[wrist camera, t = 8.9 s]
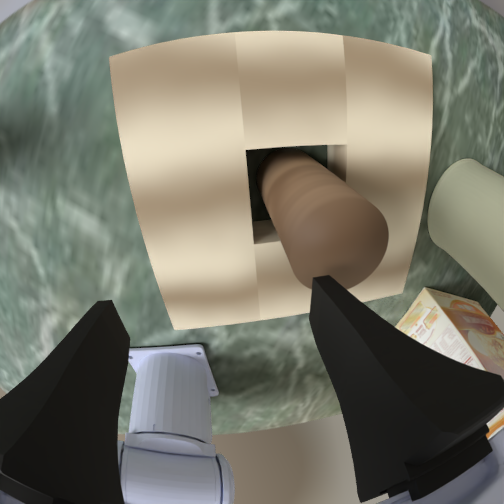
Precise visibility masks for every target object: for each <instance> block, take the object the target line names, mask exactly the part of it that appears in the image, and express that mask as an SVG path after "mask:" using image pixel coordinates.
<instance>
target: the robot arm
mask: <svg viewBox="0 0 504 504" xmlns="http://www.w3.org/2000/svg"><path fill="white" fill-rule="evenodd" d="M309 321H310V324H311V328H312V332H313V335H314V339H315V342H316V345H317V348H318V350H319V352H320V355H321V357H322V360H323V362H324V365H325V367H326V369H327V372H328V374H329V377H330V379H331V382H332V384H333V386H334V389H335V391H336V394H337V397H338V400H339V403H340V407H341V410H342V414H343V418H344V421H345V426H346V430H347V434H348V438H349V442H350V448H351V453H352V458H353V463H354V470H355V477H356V483H357V493H358V497H359V500H360V502H361V503H362V502H365V501H368V500H370V499H373V498H376V497H378V496H381V495H383V494H386V493H388V496H389V499H386V500H384V501H382V502H379V503H376V504H504V427H503V428H502V429H501V430H500V431H498V432H497V433H496V434H495V435H494V436H492V437H491V438H490V439H489V440H488V439H487V437H486V434H487V433H489V428H488V426H487V423H488V422H489V421H490V420H491V419H492V418H494V417H495V416H496V415H497V414H498V413H499V412H500V411H501V410H502V409H503V408H504V380H503V378H502V376H501V375H498V374H495V373H491V372H488V371H484V370H481V369H477V368H474V367H471V366H469V365H466V364H464V363H461V362H458V361H456V360H454V359H451V358H449V357H447V356H445V355H443V354H441V353H439V352H437V351H435V350H433V349H431V348H429V347H427V346H425V345H423V344H421V343H420V342H418V341H416V340H415V339H413V338H411V337H410V336H408V335H406V334H405V333H403V332H402V331H400V330H398V329H397V328H395V327H394V326H393V325H391V324H390V323H388V322H387V321H386V320H384V319H383V318H381V317H380V316H379V315H377V314H376V313H375V312H374V311H372V310H371V309H370V308H368V307H367V306H366V305H365V304H363V303H362V302H361V301H360V300H359V299H357V298H356V297H355V296H354V295H353V294H351V293H350V292H349V291H348V290H347V289H345V288H344V287H343V286H342V285H341V284H339V283H338V282H337V281H336V280H335V279H334V278H332V277H331V276H330V275H325V276H319V277H313V280H312V293H311V304H310V315H309ZM128 361H129V362H130V364H131V365H132V367H133V368H134V370H135V371H136V373H137V376H136V383H135V389H134V395H133V402H132V410H131V417H130V425H129V433H126V435H125V443H124V441H118V440H117V438H118V437H117V436H118V416H119V409H120V403H121V397H122V392H123V387H124V382H125V376H126V371H127V366H128ZM218 394H219V391H218V388H217V386H216V383H215V380H214V377H213V374H212V372H211V369H210V366H209V363H208V360H207V357H206V354H205V351H204V348H203V346H202V345H200V344H193V345H181V346H168V347H152V348H130V337H129V335H128V333H127V331H126V329H125V327H124V325H123V323H122V321H121V319H120V317H119V315H118V313H117V310H116V308H115V306H114V304H113V302H112V300H105V301H98V302H96V303H95V304H94V305H93V306H92V307H91V308H90V309H89V311H88V312H87V313H86V314H85V315H84V316H83V317H82V318H81V319H80V321H79V322H78V323H77V324H76V325H75V326H74V327H73V328H72V330H71V331H70V332H69V333H68V334H67V335H66V337H65V338H64V339H63V340H62V341H61V342H60V343H59V344H58V345H57V347H56V348H55V349H54V350H53V351H52V352H51V353H50V354H49V355H48V357H47V358H46V359H45V360H44V361H43V362H42V363H41V364H40V365H39V366H38V367H37V368H36V369H35V370H34V371H33V372H32V373H31V374H30V375H29V376H27V377H26V378H25V379H24V380H23V381H22V382H21V383H19V384H18V385H17V386H16V387H15V388H13V389H12V390H11V391H10V392H9V393H7V394H6V395H5V396H3V397H2V398H1V399H0V504H233V502H234V493H235V489H234V488H235V487H234V477H233V472H232V468H231V465H230V463H229V462H228V461H227V460H226V459H225V457H224V456H223V455H222V454H216V452H215V445H214V444H211V442H212V423H211V401H210V396H217V395H218Z"/></svg>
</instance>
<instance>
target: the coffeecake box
mask: <svg viewBox="0 0 504 504" xmlns="http://www.w3.org/2000/svg"><path fill="white" fill-rule="evenodd" d="M395 328H397V329H398V330H400V331H402V332H403V333H405V334H406V335H408V336H410V337H411V338H413V339H415V340H416V341H418V342H420V343H421V344H423V345H425V346H427V347H429V348H431V349H433V350H435V351H437V352H439V353H441V354H443V355H445V356H447V357H449V358H451V359H454V360H456V361H458V362H461V363H464V364H466V365H469V366H471V367H474V368H477V369H481V370H484V371H488V372H491V373H495V374H498V375H501V376H502V378H503V380H504V334H503V333H502V332H501V330H500V329H499V328H498V327H497V325H496V324H495V323H494V322H493V320H492V319H491V318H490V317H489V316H488V314H487V313H486V312H485V311H484V309H483V308H482V307H481V306H480V305H479V303H478V302H476V301H473V300H470V299H466V298H463V297H459V296H456V295H452V294H448V293H445V292H441V291H438V290H434V289H430V288H427V287H424V288H423V289H422V291H421V292H420V293H419V295H418V296H417V298H416V299H415V301H414V302H413V304H412V305H411V307H410V308H409V310H408V311H407V312H406V314H405V315H404V316H403V317H402V318H401V319H400V321H399V322H398V323H397V325H396V326H395ZM487 426H488V428H489V433H487V434H486V437H487V439H488V440H489V439H490V438H491V437H492V436H494V435H495V434H496V433H497V432H498V431H500V430H501V429H502V428H503V427H504V408H503V409H502V410H501V411H500V412H499V413H498V414H497V415H496V416H495V417H494V418H492V419H491V420H490V421H489V422H488V423H487Z"/></svg>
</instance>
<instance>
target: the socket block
mask: <svg viewBox="0 0 504 504" xmlns="http://www.w3.org/2000/svg"><path fill="white" fill-rule="evenodd" d="M109 62H110V72H111V81H112V90H113V97H114V105H115V111H116V118H117V124H118V130H119V136H120V141H121V146H122V152H123V157H124V161H125V166H126V171H127V175H128V180H129V184H130V188H131V193H132V197H133V201H134V205H135V209H136V213H137V216H138V220H139V224H140V227H141V231H142V234H143V238H144V241H145V245H146V248H147V251H148V255H149V258H150V261H151V264H152V267H153V271H154V274H155V277H156V280H157V283H158V286H159V289H160V291H161V294H162V297H163V300H164V303H165V306H166V308H167V311H168V314H169V317H170V319H171V322H172V324H173V327H174V330H182V329H193V328H202V327H212V326H220V325H229V324H237V323H244V322H252V321H259V320H266V319H273V318H279V317H285V316H292V315H298V314H303V313H309V312H310V304H311V293H312V290H311V289H309V288H307V287H305V286H304V285H303V284H302V283H300V282H299V280H298V279H297V278H296V276H295V275H294V273H293V270H292V268H291V265H290V263H289V260H288V258H287V255H286V253H285V251H284V248H283V246H282V243H281V241H280V239H279V236H278V234H277V231H276V229H275V227H274V224H273V222H272V220H263V221H255V222H252V218H251V206H250V195H249V184H248V173H247V161H246V150H251V149H262V148H274V147H288V146H307V145H327V169H328V170H329V171H331V172H332V173H333V174H335V175H336V176H337V177H339V178H340V179H341V180H343V181H344V182H345V183H347V184H348V185H349V186H351V187H352V188H353V189H354V190H356V191H357V192H358V193H359V194H361V195H362V196H363V197H364V198H366V199H367V200H368V201H369V202H371V203H372V204H373V205H374V206H375V207H377V208H378V209H379V210H380V212H381V213H382V214H383V216H384V217H385V220H386V222H387V225H388V231H389V240H388V246H387V250H386V252H385V255H384V257H383V259H382V261H381V263H380V264H379V266H378V267H377V268H376V269H375V271H374V272H373V273H372V274H371V275H370V276H369V277H368V278H366V279H365V280H364V281H362V282H361V283H359V284H358V285H356V286H354V287H352V288H350V289H347V290H348V291H349V292H350V293H351V294H353V295H354V296H355V297H356V298H357V299H359V300H360V301H361V302H365V301H370V300H374V299H379V298H383V297H388V296H392V295H396V294H400V293H402V292H403V289H404V285H405V282H406V279H407V275H408V271H409V268H410V264H411V260H412V256H413V252H414V248H415V244H416V239H417V235H418V230H419V225H420V220H421V215H422V210H423V204H424V198H425V192H426V185H427V177H428V169H429V160H430V150H431V137H432V116H433V80H432V60H431V55H428V54H425V53H422V52H418V51H415V50H412V49H408V48H404V47H400V46H396V45H392V44H388V43H383V42H378V41H373V40H368V39H363V38H357V37H350V36H343V35H335V34H326V33H314V32H298V31H249V32H233V33H222V34H212V35H204V36H197V37H190V38H184V39H178V40H173V41H168V42H163V43H159V44H154V45H150V46H146V47H142V48H138V49H134V50H131V51H127V52H124V53H120V54H117V55H114V56H111V57H109Z"/></svg>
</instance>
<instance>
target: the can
mask: <svg viewBox="0 0 504 504" xmlns="http://www.w3.org/2000/svg"><path fill="white" fill-rule="evenodd" d="M427 225H428V231H429V234H430V237H431V239H432V241H433V242H434V243H435V244H436V245H437V246H438V247H440V248H442V249H443V250H445V251H446V252H447V253H448V254H449V255H450V256H451V257H453V258H454V259H455V260H456V261H457V262H458V263H459V264H460V265H461V266H462V267H463V268H464V269H465V270H466V271H467V272H468V273H469V274H470V275H471V276H472V277H473V278H474V279H475V280H476V281H477V282H478V283H479V284H480V285H481V286H482V287H483V288H484V289H485V291H486V292H487V293H488V294H489V295H490V296H491V297H492V298H493V300H494V301H495V302H496V303H497V304H498V305H499V306H500V308H501V309H502V310H503V311H504V177H503V176H502V175H500V174H498V173H496V172H494V171H492V170H490V169H489V168H487V167H485V166H483V165H481V164H480V163H479V162H478V161H476V160H473V159H461V160H458V161H457V162H455V163H453V164H452V165H451V166H450V167H449V168H448V169H447V170H446V171H445V172H444V173H443V175H442V176H441V177H440V179H439V181H438V182H437V184H436V186H435V188H434V191H433V193H432V196H431V199H430V203H429V208H428V215H427Z"/></svg>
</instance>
